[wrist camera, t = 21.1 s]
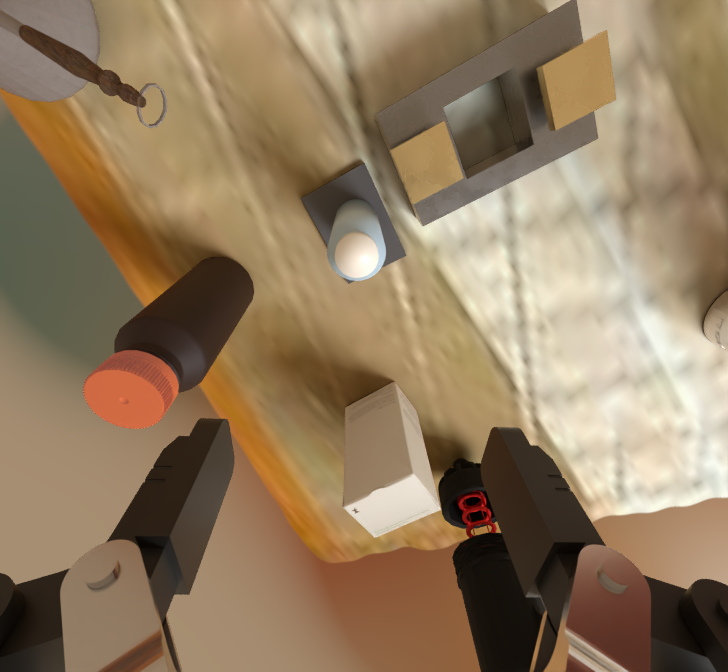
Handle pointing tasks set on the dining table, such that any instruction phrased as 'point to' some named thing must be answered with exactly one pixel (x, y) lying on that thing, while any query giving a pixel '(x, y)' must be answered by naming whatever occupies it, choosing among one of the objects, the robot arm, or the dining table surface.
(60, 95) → the coffee pot
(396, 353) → the dining table surface
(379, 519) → the skincare box
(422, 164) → the plunger
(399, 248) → the mat
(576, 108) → the plunger
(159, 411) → the bottle
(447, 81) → the housing
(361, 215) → the cartridge
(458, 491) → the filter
